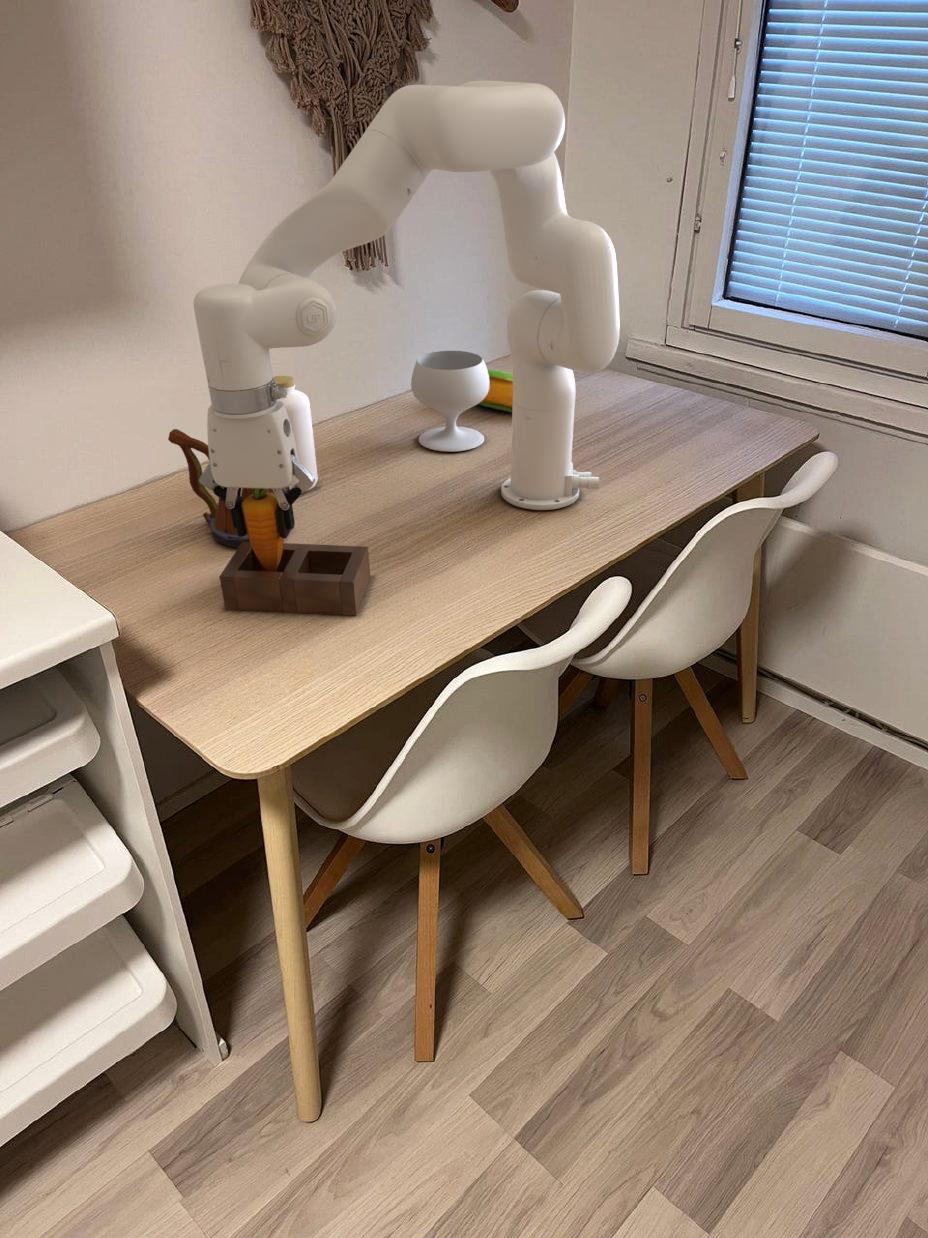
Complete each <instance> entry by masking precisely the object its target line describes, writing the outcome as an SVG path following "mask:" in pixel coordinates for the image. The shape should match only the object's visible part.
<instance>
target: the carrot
mask: <svg viewBox="0 0 928 1238" xmlns="http://www.w3.org/2000/svg"><path fill="white" fill-rule="evenodd" d="M250 489H251V490H252V492H253V494H251V495H249V496H248V497H247V498H246V499H245V500H244V501H243V502H242V505H241V507H242V512H243V517H244V522H245V526H246V530H247V535H248V537H249V540H250V543H251V545H252V548H253V550H254V552H255V555H256V556H257V558H258V560H259V561H260V563H261V564H262V566H263V567H264V568H265V570H266V571H267V572H276V571H277V568H278V566H279V563H280V560H281V557H282V553H283V543H284V539H285V538H282V537H280V532H279V525H278V519H277V509H278V508H279V504H278V501H277V499H276V497H275V495H274V493H272V492H271V493H266V492H267V491H268V489H260V488H250Z"/></svg>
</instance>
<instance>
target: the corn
mask: <svg viewBox="0 0 928 1238" xmlns="http://www.w3.org/2000/svg"><path fill="white" fill-rule="evenodd" d="M487 370H488V374H489V381H490V382H489V391H488V394H487V395H486V397H485V398H484V399H483V400H482V401H481V402H480V403H478V404H477V405H480V406H482V407H485V408H489V409H490V408H491V409H495V410H499V411H504V412H508V413H512V402H513V373H511V372H507V371H503V370H496V369H489V368H487Z"/></svg>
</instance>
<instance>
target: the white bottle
mask: <svg viewBox="0 0 928 1238" xmlns="http://www.w3.org/2000/svg"><path fill="white" fill-rule="evenodd" d="M273 378H275V383H276V385H279V386H280V387H286V390H287V396H286V398H280V399H277V401H281V402H283V403H284V406H285V408H286V411H287V414H288V417H289V420H290V424H291V427H292V431H293V435H294V439H295V443H296V448H297V453H298V458H299V462H300V463H301V464H302V465H303V466H304V467H305V468H306V469H307V470H308V471H309V472H310V473H311V474H312V475H313V477H314V478H315V482H314V484H313V485H312V487H310V488H309V489H308V490H307V491H306V492H308V491H310V490H312V489H313V488H314V487H315V486H316V485H317V482H318V480H319V477H318V476H319V475H318V468H317V458H316V448H315V439H314V431H313V421H312V411H311V402H310V399H309V397H308V395H307V394H306V393H305V392H302V391H301V390H298V389H295V388H296V384H295V382H294V377H292V376H290V375H275V376H273ZM297 483H299V480H298V479H297V478H296V477H295V475H293V476H292V483H291V485H290V487H291V489H292V488H293V486H294V485H295V484H297Z"/></svg>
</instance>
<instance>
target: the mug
mask: <svg viewBox="0 0 928 1238" xmlns="http://www.w3.org/2000/svg"><path fill="white" fill-rule="evenodd" d="M167 440H168V441H169V442H170V443H171V444H173V445H177V446H178V447H179V448H180V449H181V451H182V452H183V455H184V457H185V459H186V464H187V468H188V475H189V476H188V477H189V478H188V479H189V484H190V487H191V489H192V491H193V492H194V494H195V495H196V496H197V497H199V498H200V499H201V500H203V501H204V503H205V504H206V505H207V507H208V509H209V512H210V513H209V512H204V513H203V514H202V516H203V518H204V520H205V522H206V523H208V524H209V527H210V530H211V534H212V536H213V538H214V540H215V541H216V542H218V543H219V544H222V545H225V546H227V547H232V548H235V549H238V548H239V546H240V545H241V543H242V542H250V540H249V537H248V535H247V533H246V534H245V536H243V537H238V533H237V528H234V526H233V521H232V515H231V510H230V509H229V508H227V507H226V505H225V502H224V501H223V500H221V499H220V498H219V497H218V502H217V501H216V500H215V498H214V497H213V496H212V494H211V493H210V492H209V491H208V490H207V488H206V487H205V486H203V485H202V484H201V483H200V482H199V478H200V477H201V475H202V474H203V469H202V465H201V463H200V460H199V458H198V457H197V455H196V454H195V452H194V451H193V450H195V451H198V452H200V453H202V454H203V455H205V457H206V458H207V459H208V461H209V462H210V458H209V449H208V443H205V442H204V441H201V440H199V439H197V438H194V437H192V436H190V435H188V434H186V433H185V432H183V431H182V430H180V429H178V428H174V429H172V430H171V431H169V433H168V438H167ZM192 449H193V450H192ZM266 493H272V492H271V489H268V491H267V492H266ZM251 494H253V492H252V490H251V489H250V488H242V495H241V497H242V499H246V498H247V497H248V496H249V495H251Z"/></svg>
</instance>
